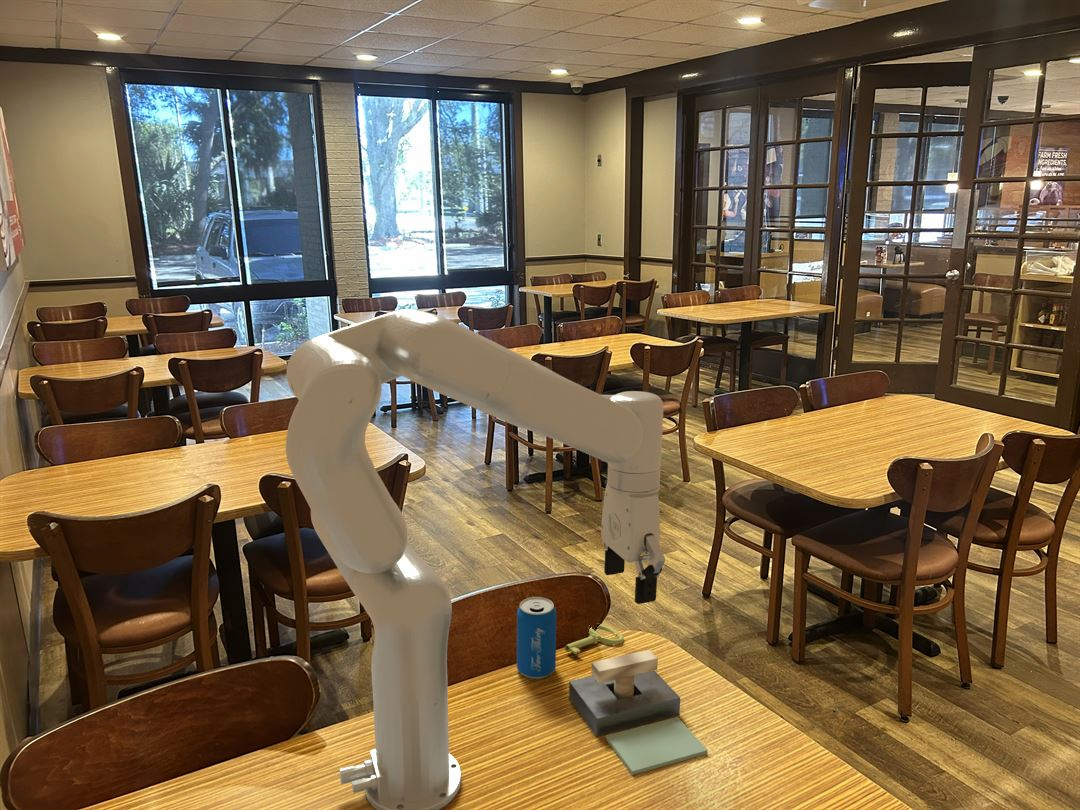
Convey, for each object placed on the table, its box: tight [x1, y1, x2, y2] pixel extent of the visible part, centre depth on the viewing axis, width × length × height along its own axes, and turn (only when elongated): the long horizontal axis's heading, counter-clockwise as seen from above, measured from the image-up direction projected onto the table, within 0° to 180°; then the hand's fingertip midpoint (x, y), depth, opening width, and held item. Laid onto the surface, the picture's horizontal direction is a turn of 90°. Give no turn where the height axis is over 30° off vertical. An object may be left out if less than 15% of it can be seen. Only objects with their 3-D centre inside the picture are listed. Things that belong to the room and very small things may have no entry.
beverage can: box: [516, 596, 557, 680], centre depth 127 cm, size 6×6×12 cm
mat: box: [605, 716, 708, 776], centre depth 110 cm, size 12×8×1 cm, turn 112°
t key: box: [590, 649, 659, 700], centre depth 118 cm, size 10×3×8 cm, turn 112°
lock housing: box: [568, 670, 681, 737], centre depth 119 cm, size 14×10×3 cm
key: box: [564, 623, 625, 655], centre depth 136 cm, size 7×12×2 cm, turn 149°
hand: (629, 587), depth 114 cm, fingers open, 9 cm apart
